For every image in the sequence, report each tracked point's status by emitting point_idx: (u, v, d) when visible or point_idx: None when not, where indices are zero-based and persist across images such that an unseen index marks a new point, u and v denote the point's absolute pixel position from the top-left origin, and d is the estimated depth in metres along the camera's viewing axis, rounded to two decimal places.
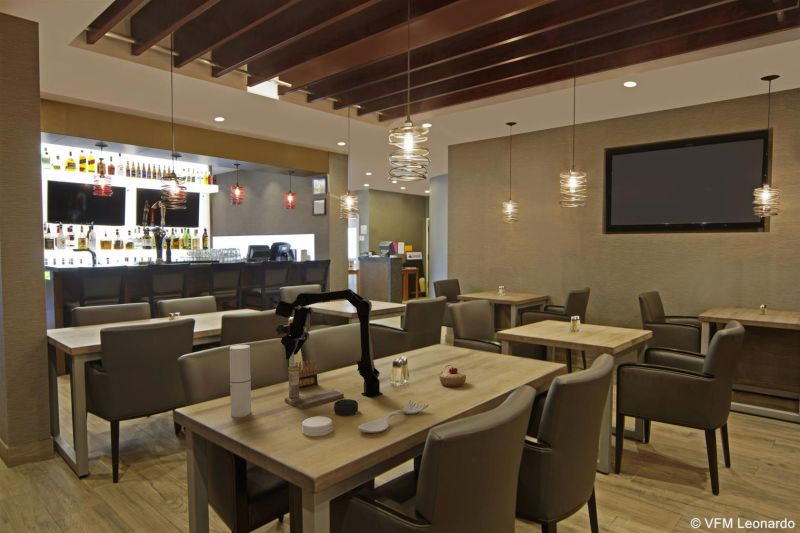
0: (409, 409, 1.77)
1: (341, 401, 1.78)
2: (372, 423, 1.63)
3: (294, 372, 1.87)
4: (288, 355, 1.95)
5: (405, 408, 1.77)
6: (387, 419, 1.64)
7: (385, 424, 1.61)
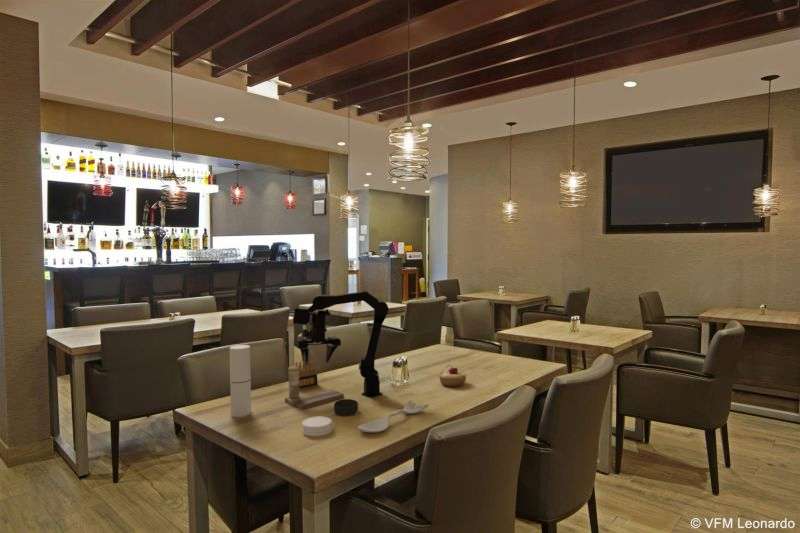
0: (409, 409, 1.77)
1: (341, 401, 1.78)
2: (372, 423, 1.63)
3: (294, 372, 1.87)
4: (304, 359, 1.93)
5: (405, 408, 1.77)
6: (387, 419, 1.64)
7: (385, 424, 1.61)
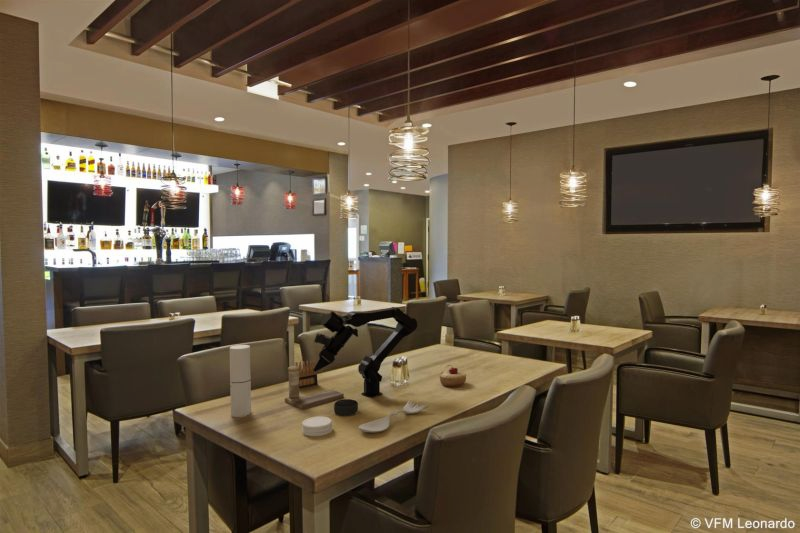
0: (409, 409, 1.77)
1: (341, 401, 1.78)
2: (373, 423, 1.63)
3: (294, 372, 1.87)
4: (317, 368, 1.86)
5: (405, 408, 1.77)
6: (387, 419, 1.64)
7: (386, 424, 1.61)
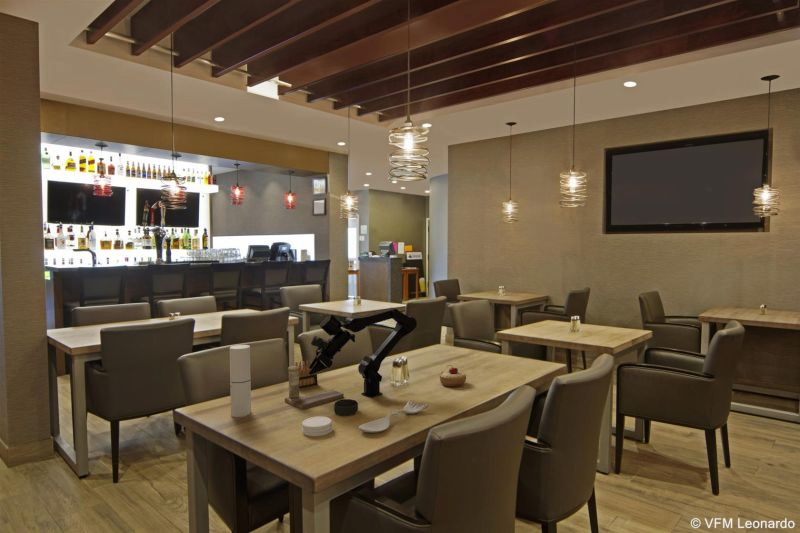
0: (409, 409, 1.77)
1: (341, 401, 1.78)
2: (373, 423, 1.63)
3: (294, 372, 1.87)
4: (313, 371, 1.85)
5: (405, 408, 1.77)
6: (388, 419, 1.64)
7: (386, 424, 1.61)
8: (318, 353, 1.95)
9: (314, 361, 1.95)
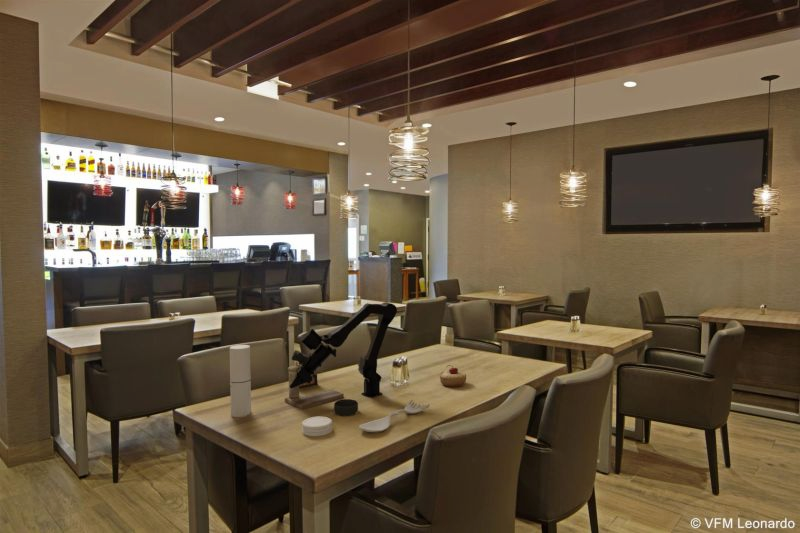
0: (410, 409, 1.77)
1: (341, 401, 1.78)
2: (373, 423, 1.63)
3: (294, 372, 1.87)
4: (293, 385, 1.86)
5: (406, 408, 1.77)
6: (388, 419, 1.64)
7: (386, 424, 1.62)
8: None
9: None
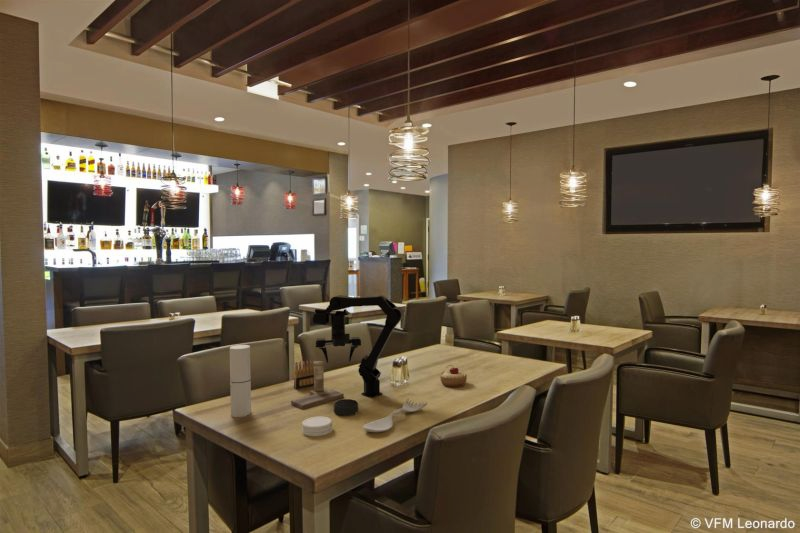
0: (408, 408, 1.78)
1: (341, 401, 1.78)
2: (375, 423, 1.63)
3: (319, 366, 1.96)
4: None
5: (404, 407, 1.79)
6: (390, 418, 1.65)
7: (389, 423, 1.62)
8: None
9: None
